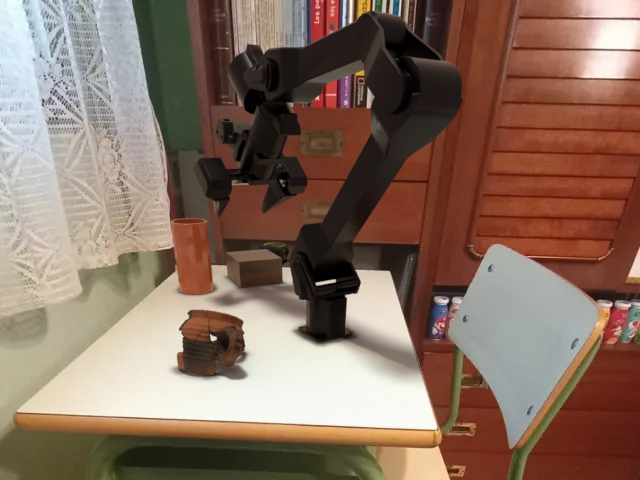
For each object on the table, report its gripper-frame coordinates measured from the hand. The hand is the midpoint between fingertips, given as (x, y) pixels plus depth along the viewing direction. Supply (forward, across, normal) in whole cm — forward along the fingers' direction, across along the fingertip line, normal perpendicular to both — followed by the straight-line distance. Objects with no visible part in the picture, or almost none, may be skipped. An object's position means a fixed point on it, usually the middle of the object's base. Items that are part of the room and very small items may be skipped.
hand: (240, 213), depth 86 cm
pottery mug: (-7, +19, +30) cm, 37 cm away
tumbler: (+14, +8, +5) cm, 17 cm away
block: (+15, -6, +5) cm, 16 cm away
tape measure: (+22, -17, -4) cm, 28 cm away
